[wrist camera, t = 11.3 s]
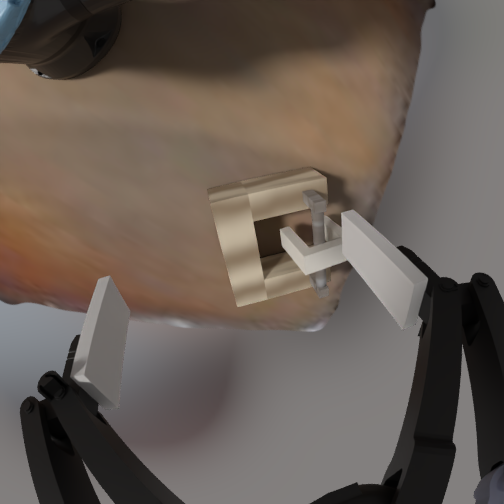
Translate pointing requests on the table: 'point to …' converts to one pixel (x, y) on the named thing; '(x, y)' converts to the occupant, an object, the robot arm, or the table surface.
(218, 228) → the c-clamp
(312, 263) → the white u-shaped bracket
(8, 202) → the table surface
